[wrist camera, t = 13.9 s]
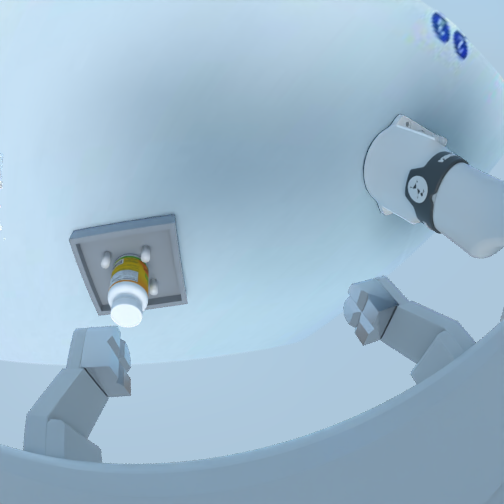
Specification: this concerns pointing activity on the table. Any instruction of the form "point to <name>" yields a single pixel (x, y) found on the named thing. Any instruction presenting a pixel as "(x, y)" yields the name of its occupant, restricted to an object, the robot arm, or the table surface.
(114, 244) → the pin tray
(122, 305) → the supplement bottle
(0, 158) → the syringe
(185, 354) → the table surface
